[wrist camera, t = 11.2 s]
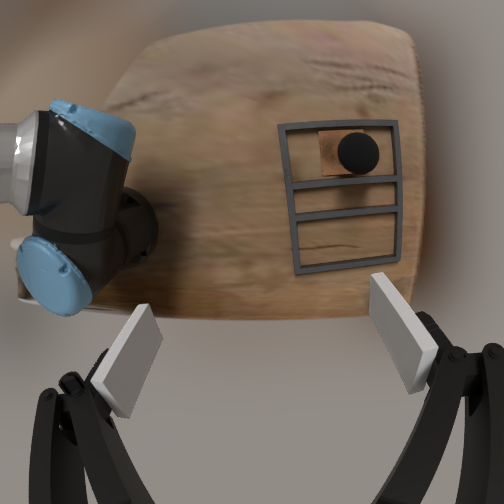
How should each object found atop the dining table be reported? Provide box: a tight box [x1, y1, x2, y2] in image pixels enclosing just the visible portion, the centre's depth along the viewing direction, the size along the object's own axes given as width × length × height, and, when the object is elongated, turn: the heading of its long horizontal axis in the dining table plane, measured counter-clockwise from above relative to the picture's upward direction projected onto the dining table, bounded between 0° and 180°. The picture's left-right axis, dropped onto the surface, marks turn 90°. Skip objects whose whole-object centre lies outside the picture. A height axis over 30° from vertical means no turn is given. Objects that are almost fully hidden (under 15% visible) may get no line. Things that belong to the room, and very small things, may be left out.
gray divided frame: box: [277, 120, 403, 275], centre depth 43 cm, size 20×25×1 cm
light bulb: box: [337, 132, 379, 174], centre depth 36 cm, size 6×6×10 cm
